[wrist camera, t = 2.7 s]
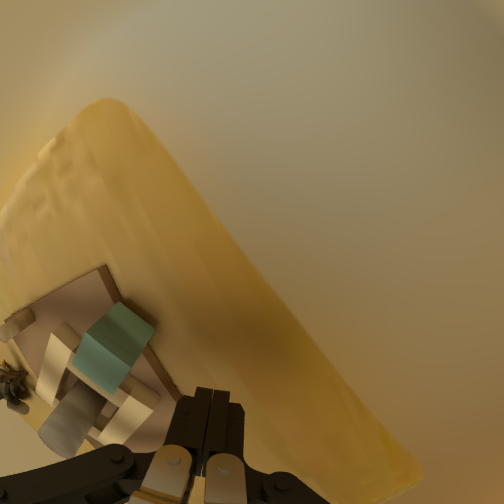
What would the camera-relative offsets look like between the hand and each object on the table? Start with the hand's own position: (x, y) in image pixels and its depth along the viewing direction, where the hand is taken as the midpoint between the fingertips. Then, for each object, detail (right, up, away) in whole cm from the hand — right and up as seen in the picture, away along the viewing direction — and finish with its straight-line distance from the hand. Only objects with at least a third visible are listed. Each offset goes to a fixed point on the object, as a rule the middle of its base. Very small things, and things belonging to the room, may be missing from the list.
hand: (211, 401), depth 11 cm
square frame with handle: (-10, -3, +6) cm, 12 cm away
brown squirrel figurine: (-26, -7, +9) cm, 28 cm away
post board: (-11, -4, +8) cm, 14 cm away
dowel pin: (-16, +2, +5) cm, 17 cm away
